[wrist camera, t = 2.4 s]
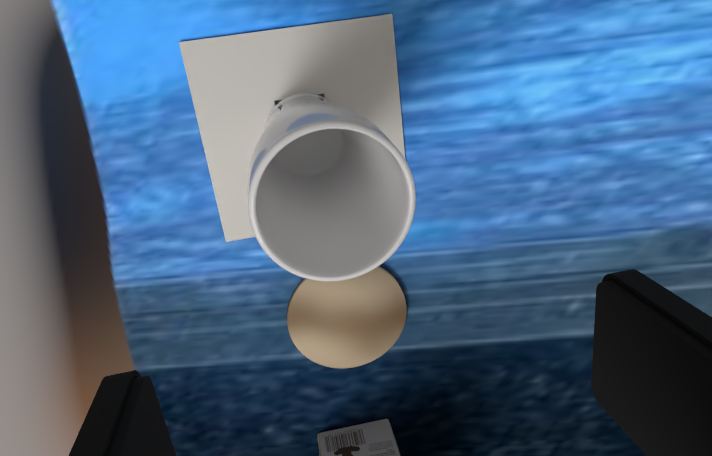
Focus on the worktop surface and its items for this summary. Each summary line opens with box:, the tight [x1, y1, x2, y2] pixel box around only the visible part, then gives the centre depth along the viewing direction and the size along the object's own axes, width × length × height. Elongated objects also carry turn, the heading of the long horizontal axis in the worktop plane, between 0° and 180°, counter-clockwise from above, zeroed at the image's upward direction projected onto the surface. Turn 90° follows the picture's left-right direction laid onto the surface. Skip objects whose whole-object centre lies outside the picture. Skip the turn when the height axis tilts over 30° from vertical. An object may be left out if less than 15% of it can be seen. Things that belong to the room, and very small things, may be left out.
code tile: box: [179, 14, 405, 242], centre depth 34 cm, size 13×13×1 cm
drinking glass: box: [247, 93, 416, 281], centre depth 27 cm, size 7×7×15 cm
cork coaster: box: [287, 266, 407, 368], centre depth 39 cm, size 9×9×1 cm
